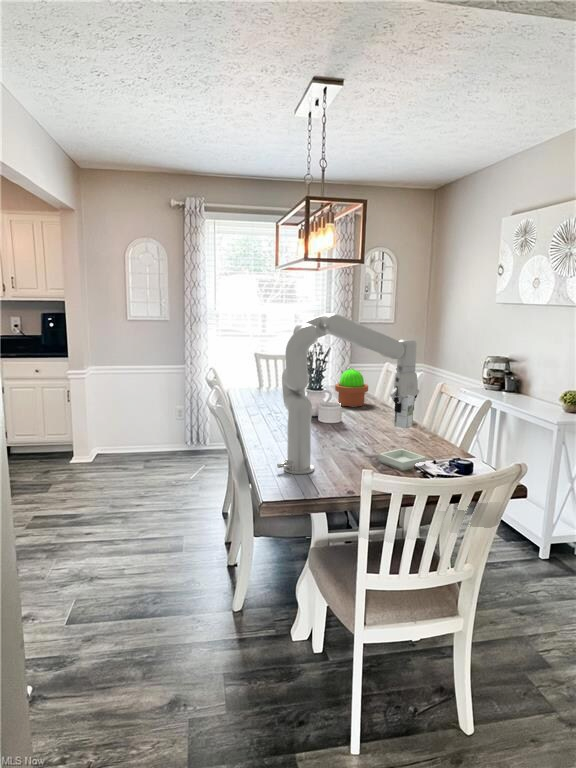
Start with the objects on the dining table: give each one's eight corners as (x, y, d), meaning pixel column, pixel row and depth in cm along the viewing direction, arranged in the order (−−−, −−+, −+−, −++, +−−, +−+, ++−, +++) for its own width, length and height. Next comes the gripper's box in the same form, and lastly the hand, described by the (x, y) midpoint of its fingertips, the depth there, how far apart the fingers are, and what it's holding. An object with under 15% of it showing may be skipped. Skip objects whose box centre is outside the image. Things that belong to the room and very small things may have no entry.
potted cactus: (363, 409, 309) (365, 371, 305) (331, 406, 317) (331, 369, 312) (370, 402, 329) (371, 367, 325) (339, 400, 337) (340, 365, 333)
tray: (402, 470, 196) (402, 462, 195) (378, 461, 207) (378, 453, 207) (425, 464, 203) (426, 457, 202) (401, 456, 215) (401, 448, 214)
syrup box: (400, 424, 206) (401, 391, 204) (412, 426, 203) (414, 392, 200) (394, 426, 202) (395, 393, 200) (407, 428, 198) (408, 394, 196)
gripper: (397, 372, 191) (395, 415, 194) (427, 369, 200) (425, 410, 203) (384, 369, 197) (382, 411, 200) (413, 367, 206) (412, 407, 209)
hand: (404, 410), depth 201 cm, fingers closed on syrup box, 7 cm apart
